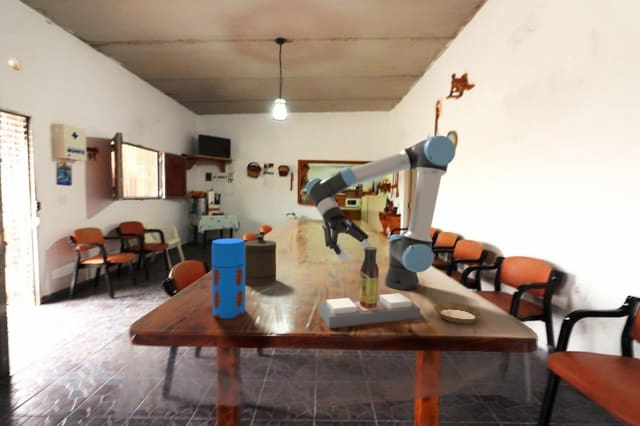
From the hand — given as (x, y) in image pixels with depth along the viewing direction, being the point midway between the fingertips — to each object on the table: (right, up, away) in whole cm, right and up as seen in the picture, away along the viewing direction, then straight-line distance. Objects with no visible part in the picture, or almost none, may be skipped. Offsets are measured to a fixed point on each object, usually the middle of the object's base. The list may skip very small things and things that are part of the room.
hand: (359, 258), depth 106 cm
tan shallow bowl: (+33, -20, -1) cm, 39 cm away
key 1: (-7, -17, -4) cm, 18 cm away
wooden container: (-42, -16, +36) cm, 58 cm away
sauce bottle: (+3, -16, -1) cm, 16 cm away
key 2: (+13, -16, +1) cm, 21 cm away
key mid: (+3, -18, -1) cm, 18 cm away
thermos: (-45, -19, 0) cm, 49 cm away
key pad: (+3, -19, -1) cm, 20 cm away
